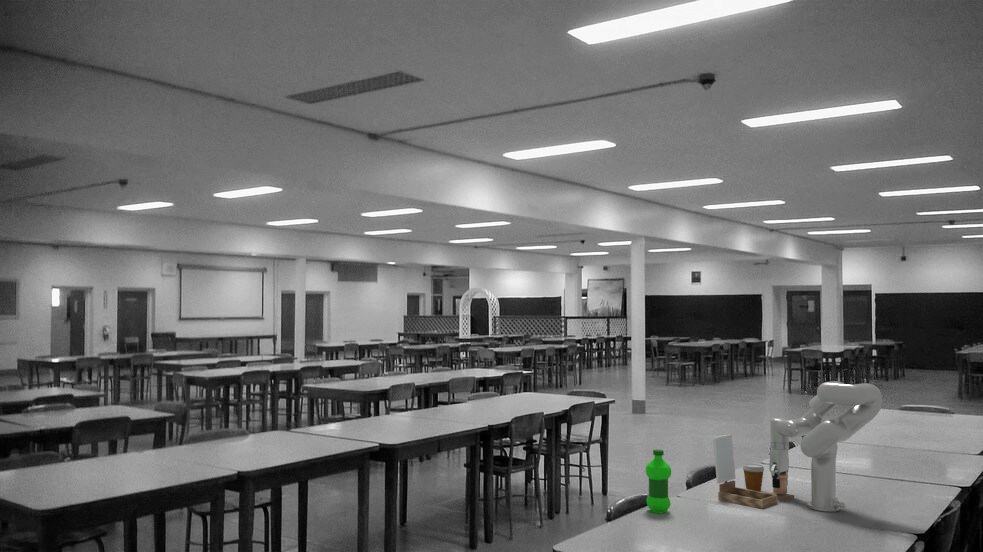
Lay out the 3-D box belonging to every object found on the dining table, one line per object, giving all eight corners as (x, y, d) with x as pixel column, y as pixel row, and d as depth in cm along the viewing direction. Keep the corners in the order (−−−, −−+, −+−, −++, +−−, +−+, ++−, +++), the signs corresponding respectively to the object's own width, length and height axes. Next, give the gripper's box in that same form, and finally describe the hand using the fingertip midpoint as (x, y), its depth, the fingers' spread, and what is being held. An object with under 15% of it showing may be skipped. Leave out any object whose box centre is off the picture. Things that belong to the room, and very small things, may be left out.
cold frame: (777, 504, 320) (776, 457, 321) (761, 510, 310) (761, 461, 311) (729, 494, 336) (729, 450, 337) (713, 500, 327) (713, 454, 328)
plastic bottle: (669, 508, 312) (668, 448, 313) (672, 515, 302) (672, 453, 303) (644, 507, 313) (644, 447, 314) (647, 514, 303) (647, 452, 304)
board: (794, 498, 330) (794, 495, 330) (785, 502, 324) (785, 498, 324) (774, 494, 337) (774, 491, 337) (765, 498, 331) (765, 494, 331)
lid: (731, 434, 337) (729, 434, 338) (714, 437, 327) (713, 437, 328) (735, 478, 335) (733, 478, 336) (718, 483, 325) (716, 483, 325)
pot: (776, 489, 336) (775, 471, 336) (791, 492, 331) (790, 473, 331) (769, 492, 331) (768, 473, 331) (784, 495, 326) (783, 476, 326)
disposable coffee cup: (766, 494, 337) (765, 468, 338) (744, 493, 339) (743, 467, 340) (762, 489, 346) (762, 463, 347) (741, 488, 348) (741, 462, 349)
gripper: (780, 442, 340) (780, 482, 339) (762, 447, 328) (762, 488, 328) (796, 444, 335) (797, 484, 334) (778, 449, 323) (779, 491, 322)
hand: (780, 486), depth 331 cm, fingers open, 6 cm apart
